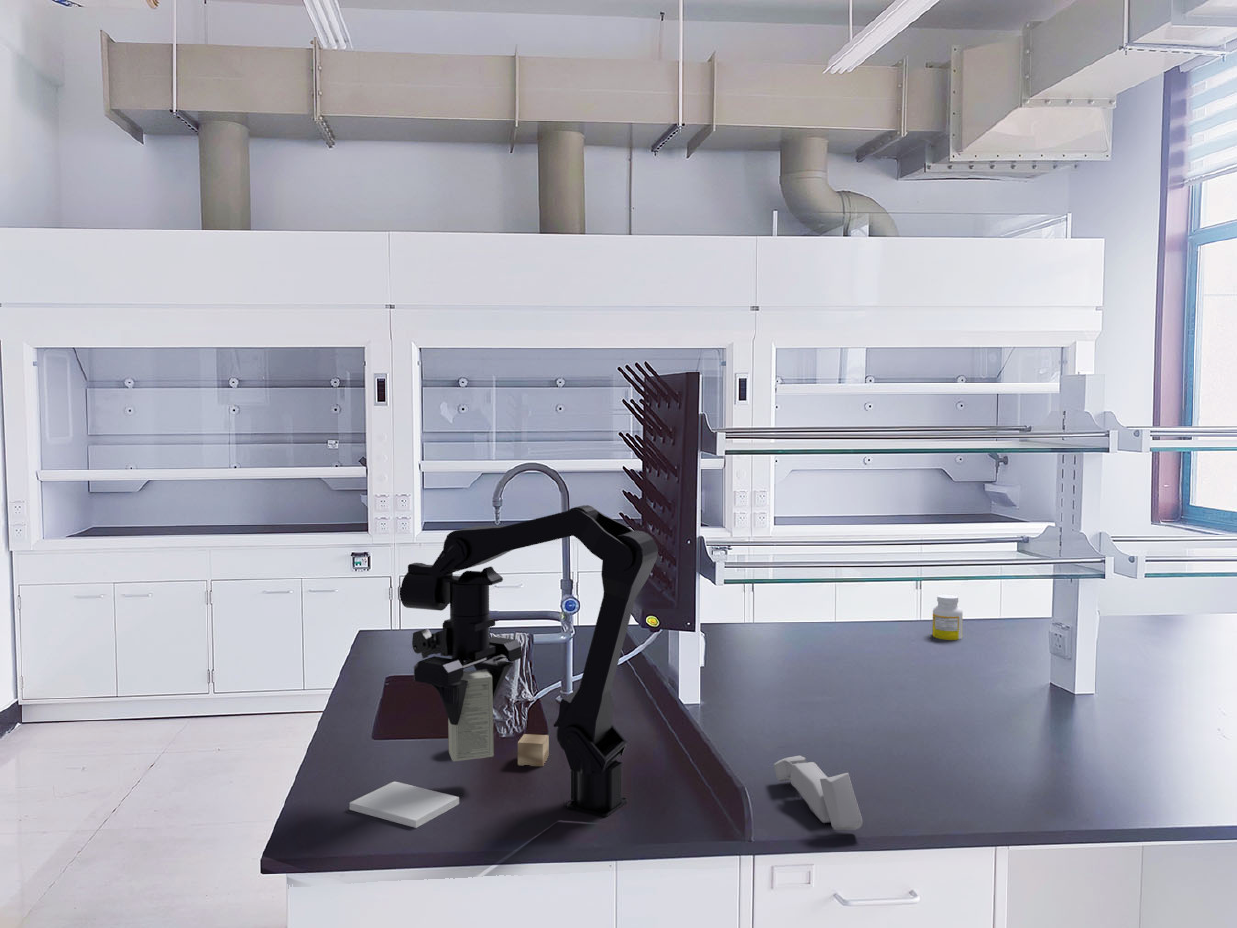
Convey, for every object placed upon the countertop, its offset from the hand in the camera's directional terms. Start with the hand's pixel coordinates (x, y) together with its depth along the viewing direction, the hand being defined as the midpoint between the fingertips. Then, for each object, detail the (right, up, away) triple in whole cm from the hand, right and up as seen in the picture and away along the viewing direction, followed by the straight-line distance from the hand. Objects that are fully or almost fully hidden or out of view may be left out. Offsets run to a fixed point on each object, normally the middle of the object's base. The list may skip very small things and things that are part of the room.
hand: (470, 717), depth 141 cm
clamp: (+50, -11, -8) cm, 51 cm away
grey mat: (-8, -11, -8) cm, 15 cm away
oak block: (+9, -10, +10) cm, 16 cm away
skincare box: (0, -6, 0) cm, 6 cm away
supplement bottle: (+99, -7, +84) cm, 130 cm away
